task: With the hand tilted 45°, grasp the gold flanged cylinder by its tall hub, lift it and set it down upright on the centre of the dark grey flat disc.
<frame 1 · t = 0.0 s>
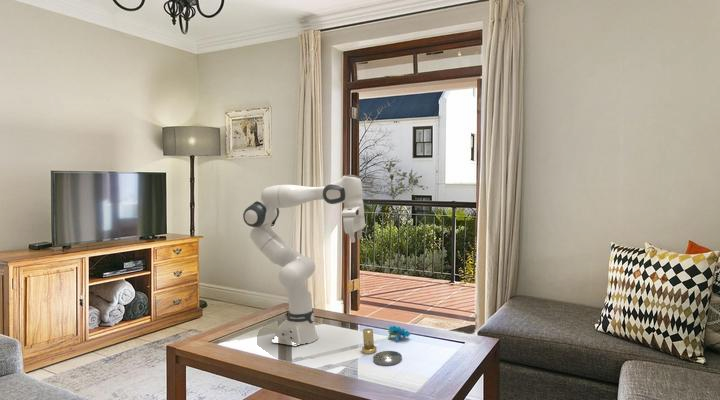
hand: (356, 240, 204), 48 cm above the table, tool pointing down, fingers open, 8 cm apart
dark grey flat disc: (387, 359, 188), on the table
gold flanged cylinder: (369, 351, 198), on the table
teal coral: (398, 339, 209), on the table
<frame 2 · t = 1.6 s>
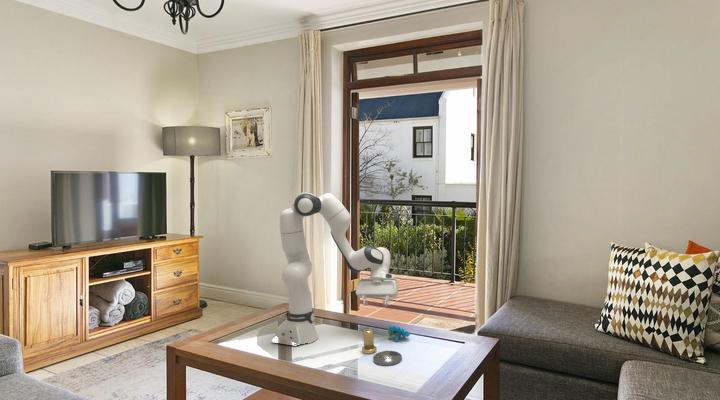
hand: (374, 305, 208), 17 cm above the table, tool tilted 45°, fingers open, 8 cm apart
nothing on the table moved.
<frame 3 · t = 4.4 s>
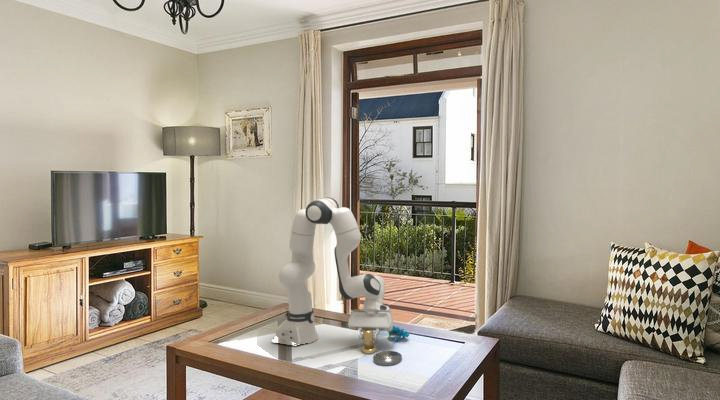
hand: (368, 338, 197), 6 cm above the table, tool tilted 45°, fingers closed on gold flanged cylinder, 4 cm apart
gold flanged cylinder: (369, 351, 198), on the table, touching gripper
everything else where it was.
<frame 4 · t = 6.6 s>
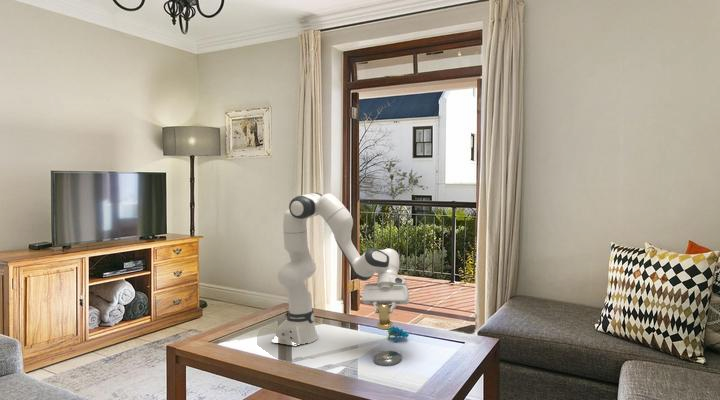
hand: (383, 312, 187), 20 cm above the table, tool tilted 45°, fingers closed on gold flanged cylinder, 4 cm apart
gold flanged cylinder: (385, 326, 188), point 14 cm above the table, touching gripper
everything else where it was.
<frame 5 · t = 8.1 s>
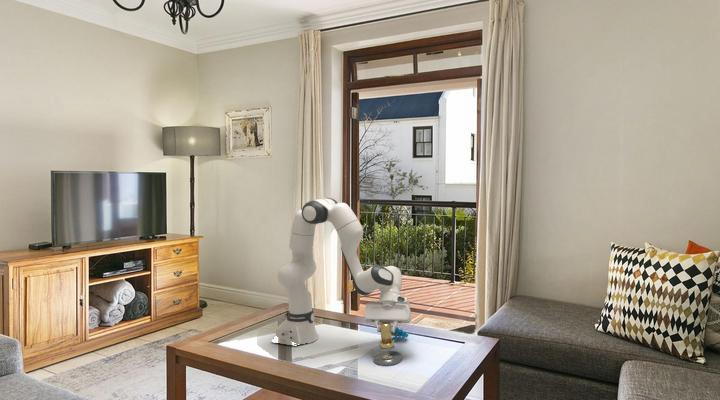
hand: (385, 331, 186), 12 cm above the table, tool tilted 45°, fingers closed on gold flanged cylinder, 4 cm apart
gold flanged cylinder: (387, 345, 188), point 6 cm above the table, touching gripper
everything else where it was.
when the fingers open (8 cm above the table, at t = 9.3 s): gold flanged cylinder stays where it is, resting on dark grey flat disc.
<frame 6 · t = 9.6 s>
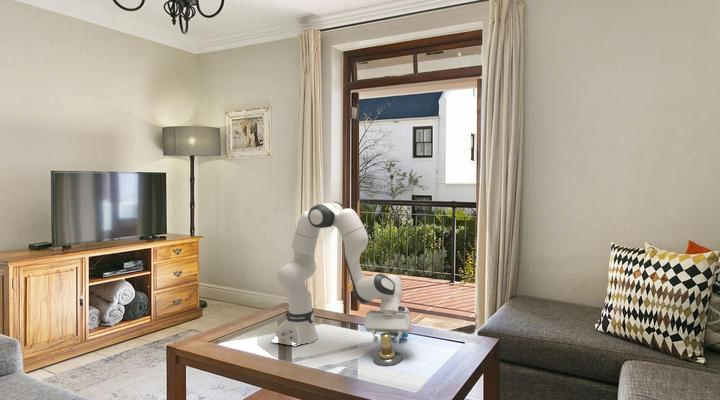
hand: (385, 341, 187), 8 cm above the table, tool tilted 45°, fingers open, 8 cm apart
gold flanged cylinder: (387, 356, 188), point 1 cm above the table, touching dark grey flat disc
everything else where it was.
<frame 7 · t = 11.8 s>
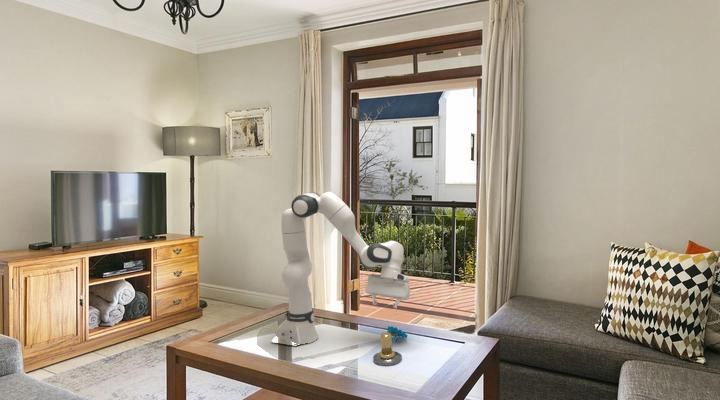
hand: (384, 306, 200), 18 cm above the table, tool tilted 30°, fingers open, 8 cm apart
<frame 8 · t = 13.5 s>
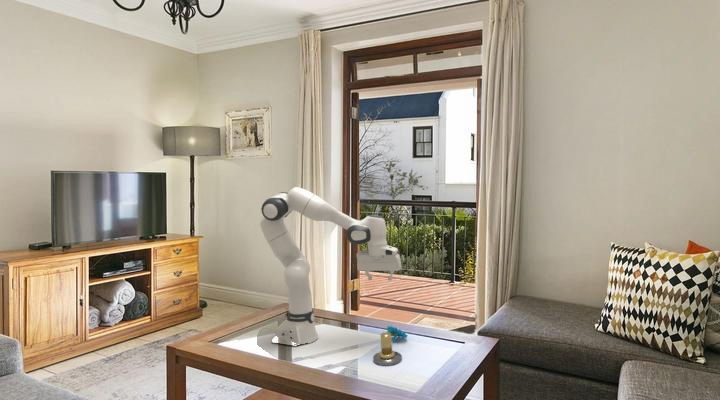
hand: (380, 280, 205), 29 cm above the table, tool pointing down, fingers open, 8 cm apart
at the end: gold flanged cylinder 0.1 cm from the dark grey flat disc (horizontally); gold flanged cylinder tilted 0°; the gripper is holding nothing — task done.
